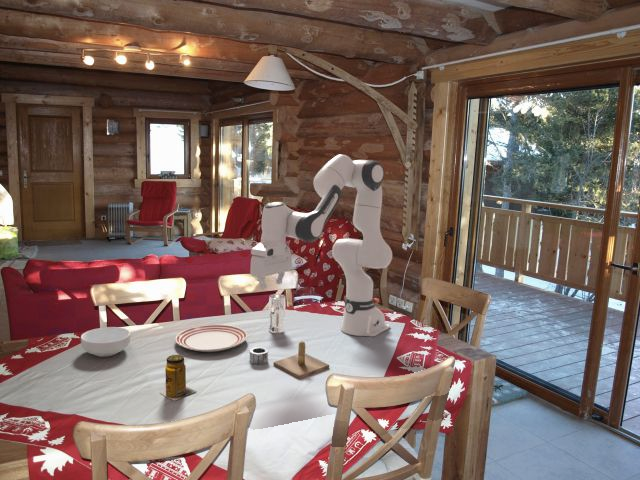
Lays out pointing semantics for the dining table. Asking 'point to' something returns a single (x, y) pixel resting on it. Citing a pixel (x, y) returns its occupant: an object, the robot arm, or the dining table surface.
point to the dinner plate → (211, 338)
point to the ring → (258, 356)
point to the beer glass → (276, 312)
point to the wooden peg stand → (301, 364)
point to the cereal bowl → (105, 341)
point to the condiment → (176, 378)
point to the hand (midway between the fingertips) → (271, 286)
